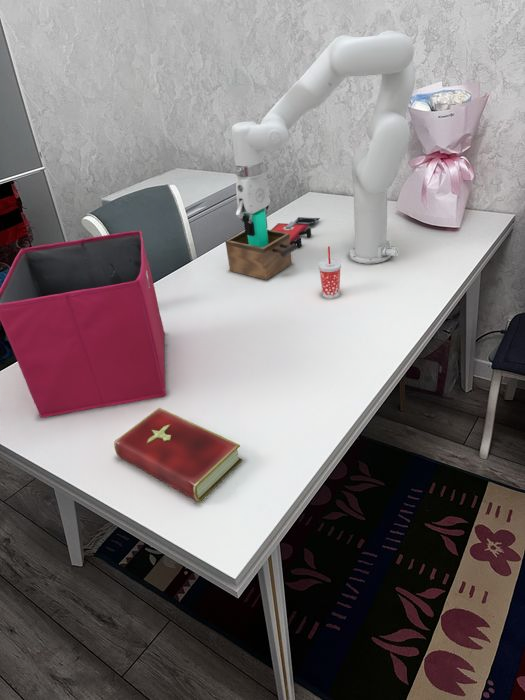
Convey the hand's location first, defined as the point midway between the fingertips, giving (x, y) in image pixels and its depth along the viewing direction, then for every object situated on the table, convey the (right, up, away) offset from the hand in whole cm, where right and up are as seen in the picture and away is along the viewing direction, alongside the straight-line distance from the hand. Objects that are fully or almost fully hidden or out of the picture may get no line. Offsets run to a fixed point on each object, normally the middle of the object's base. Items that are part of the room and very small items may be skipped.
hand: (256, 230), depth 165 cm
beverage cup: (+21, -20, -13) cm, 32 cm away
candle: (+1, -4, +3) cm, 5 cm away
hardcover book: (-14, -56, -61) cm, 84 cm away
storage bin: (-34, -41, -34) cm, 63 cm away
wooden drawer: (+3, -11, +5) cm, 12 cm away
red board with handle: (+11, +4, +26) cm, 28 cm away
